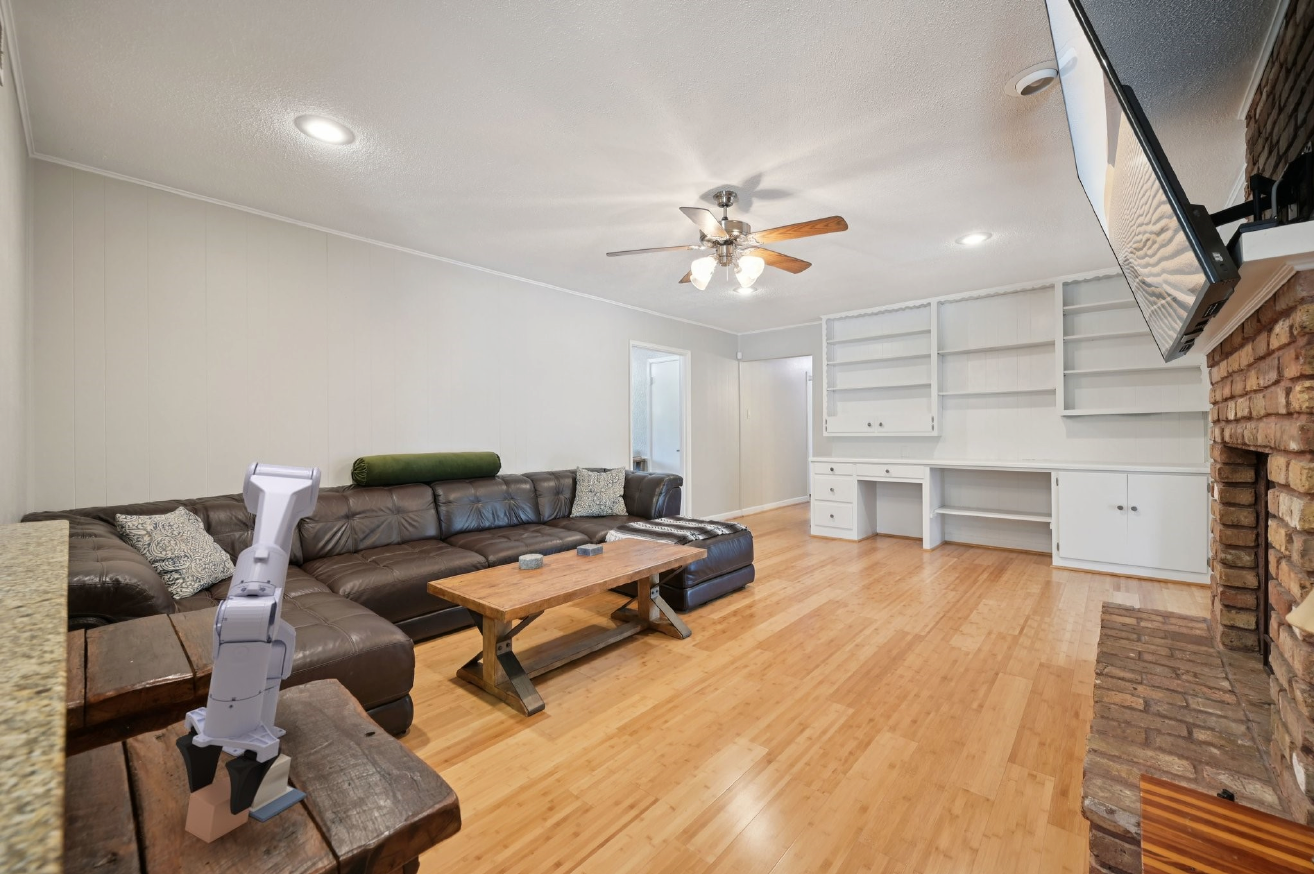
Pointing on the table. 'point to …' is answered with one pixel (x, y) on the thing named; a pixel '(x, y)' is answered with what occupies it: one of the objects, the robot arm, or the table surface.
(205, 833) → the terracotta block
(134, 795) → the table surface
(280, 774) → the cream block
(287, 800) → the blue flat board
